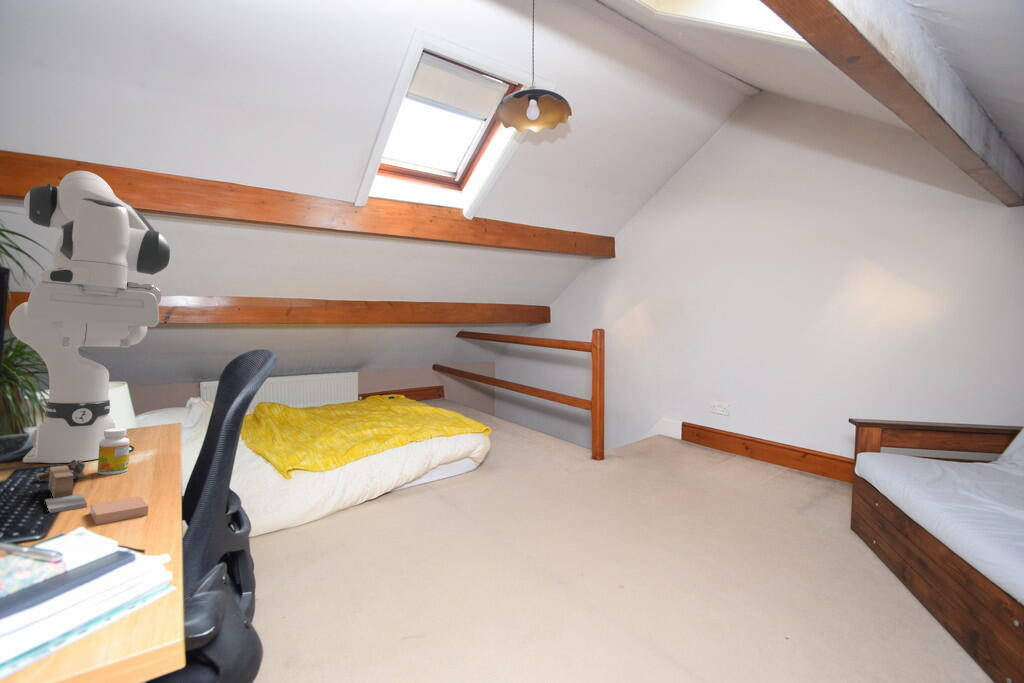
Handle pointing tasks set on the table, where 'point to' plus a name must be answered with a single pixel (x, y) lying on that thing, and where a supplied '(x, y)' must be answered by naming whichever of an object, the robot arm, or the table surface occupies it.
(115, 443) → the supplement bottle
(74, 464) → the wooden post with brackets
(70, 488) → the brown bar with plate
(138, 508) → the tile
